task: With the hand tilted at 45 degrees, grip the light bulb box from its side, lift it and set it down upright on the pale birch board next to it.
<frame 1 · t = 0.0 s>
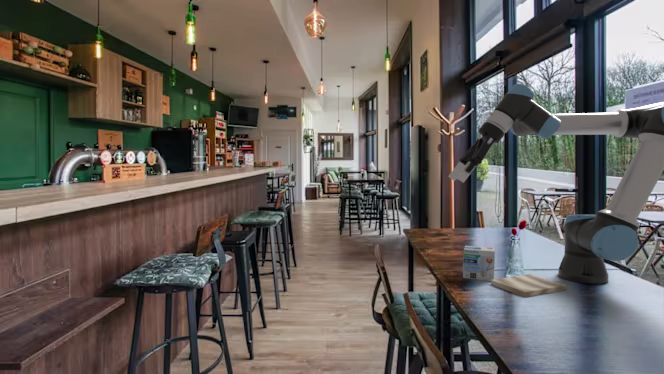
hand: (455, 179, 130), 36 cm above the table, tool tilted 35°, fingers open, 13 cm apart
light bulb box: (478, 278, 141), on the table
birch board: (527, 286, 130), on the table
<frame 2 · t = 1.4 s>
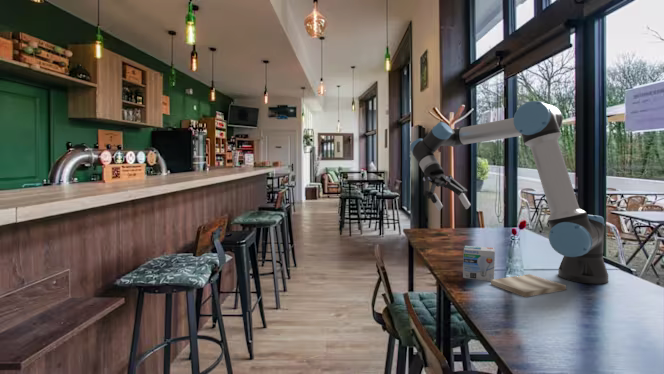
hand: (454, 207, 151), 24 cm above the table, tool tilted 45°, fingers open, 13 cm apart
nothing on the table moved.
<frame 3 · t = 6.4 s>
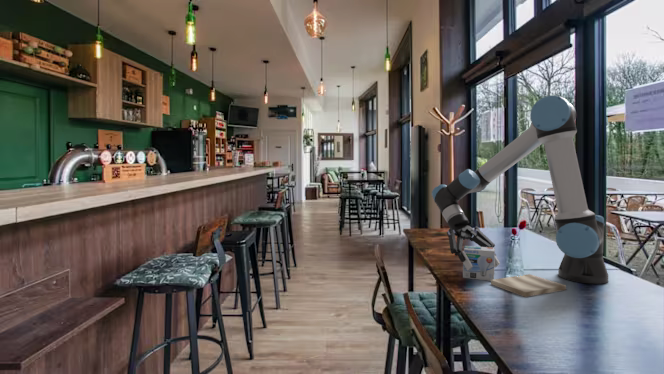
hand: (484, 267, 138), 4 cm above the table, tool tilted 45°, fingers closed on light bulb box, 12 cm apart
light bulb box: (478, 277, 141), on the table, touching gripper
when the fingers open (7 cm above the table, at t = 12.4 s): light bulb box drops 1 cm, resting on birch board.
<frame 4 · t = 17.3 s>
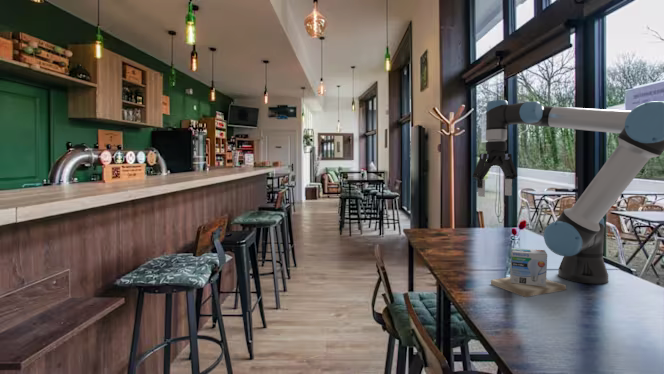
hand: (495, 196, 151), 29 cm above the table, tool pointing down, fingers open, 13 cm apart
light bulb box: (527, 283, 130), point 1 cm above the table, touching birch board
at the end: light bulb box inside the target area on the birch board (0.1 cm from its centre), point 1.3 cm above the birch board's base; light bulb box tilted 0°; the gripper is holding nothing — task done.
